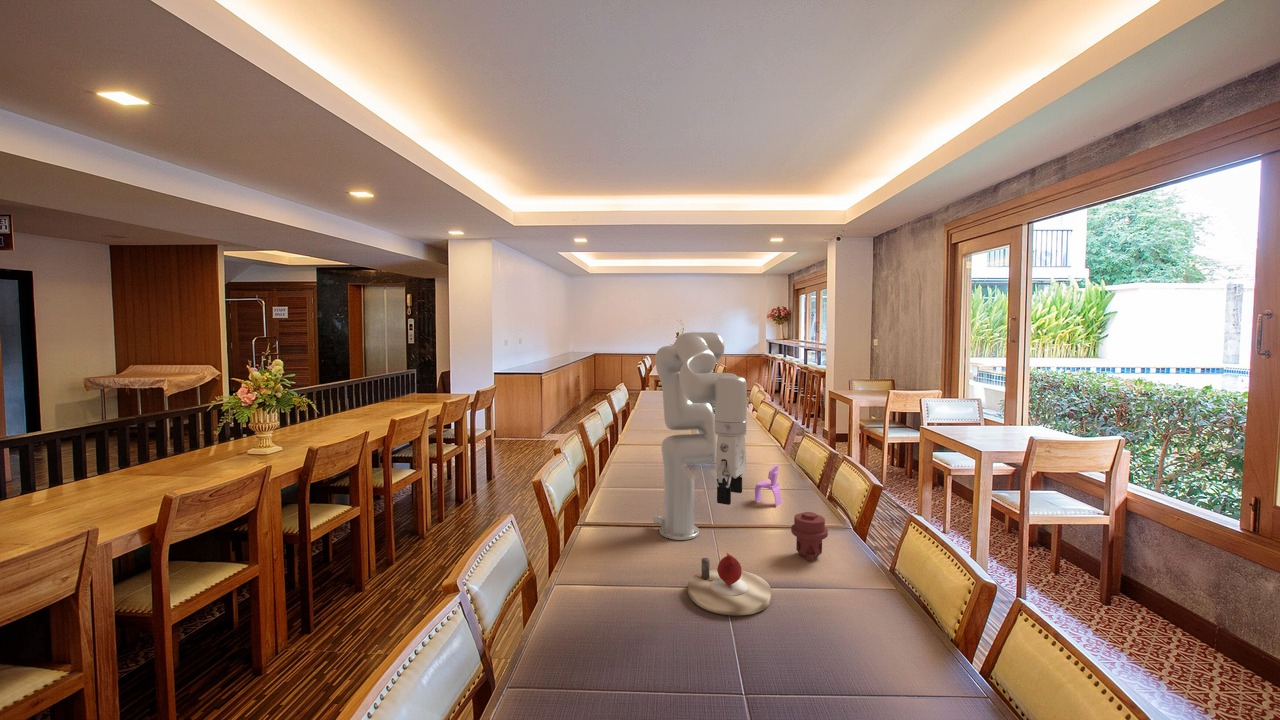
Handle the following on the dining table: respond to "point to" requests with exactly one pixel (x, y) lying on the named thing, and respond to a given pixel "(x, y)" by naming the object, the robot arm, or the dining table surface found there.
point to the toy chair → (769, 486)
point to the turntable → (728, 592)
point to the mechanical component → (809, 534)
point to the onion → (729, 569)
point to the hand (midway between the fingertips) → (729, 497)
